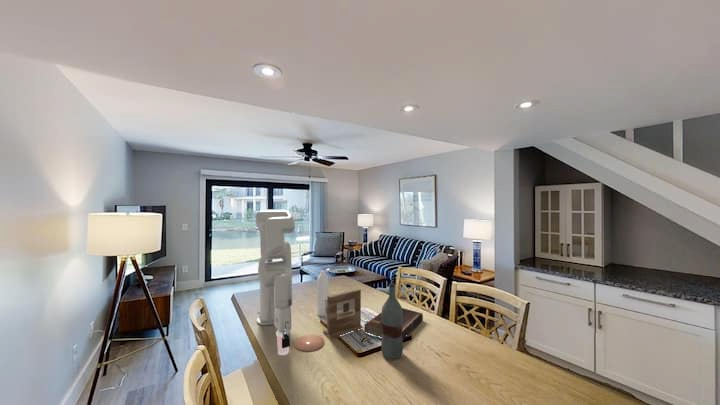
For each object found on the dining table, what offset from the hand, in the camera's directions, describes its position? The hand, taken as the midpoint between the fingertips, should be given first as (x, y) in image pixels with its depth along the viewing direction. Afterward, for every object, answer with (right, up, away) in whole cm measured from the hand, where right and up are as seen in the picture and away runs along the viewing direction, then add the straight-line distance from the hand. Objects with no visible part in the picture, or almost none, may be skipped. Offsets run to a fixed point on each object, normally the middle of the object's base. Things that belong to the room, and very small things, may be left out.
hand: (283, 343), depth 118 cm
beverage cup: (0, -4, 0) cm, 4 cm away
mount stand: (+24, -4, +19) cm, 31 cm away
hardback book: (+51, -4, +23) cm, 56 cm away
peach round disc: (+10, -4, +7) cm, 13 cm away
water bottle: (+12, -3, +40) cm, 42 cm away
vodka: (+47, -4, -2) cm, 47 cm away
